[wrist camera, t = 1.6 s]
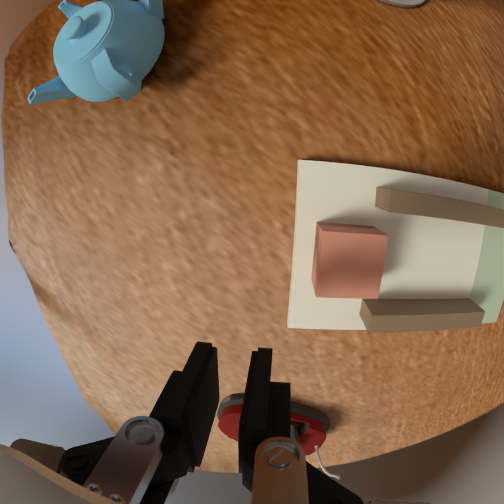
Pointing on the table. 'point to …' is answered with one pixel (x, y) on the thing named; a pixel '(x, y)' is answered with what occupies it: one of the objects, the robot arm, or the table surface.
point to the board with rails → (402, 249)
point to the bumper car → (302, 425)
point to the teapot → (104, 50)
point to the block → (348, 261)
